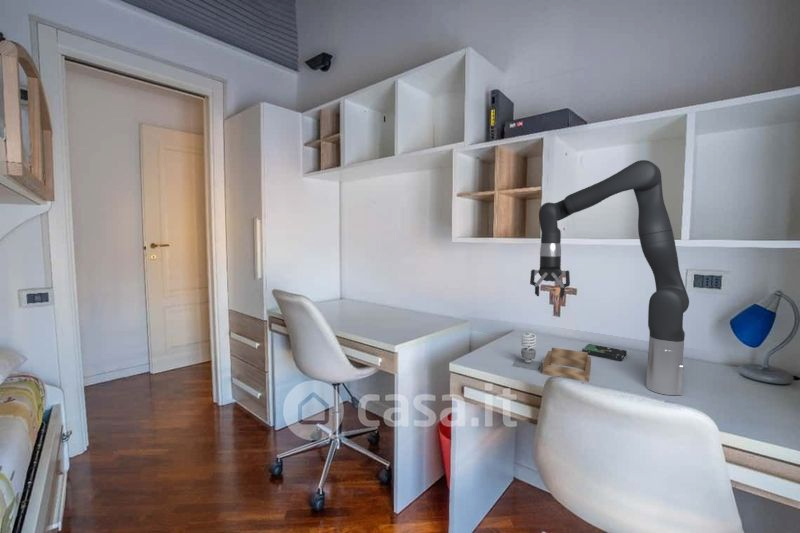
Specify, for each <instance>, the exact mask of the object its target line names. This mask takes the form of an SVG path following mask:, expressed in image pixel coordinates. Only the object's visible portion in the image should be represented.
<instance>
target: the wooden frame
mask: <svg viewBox="0 0 800 533" xmlns="http://www.w3.org/2000/svg"><path fill="white" fill-rule="evenodd" d="M591 366H592V356H589V355H588V352H582V350H581V351H580V350H572V349H566V348H565V349H564V348H558V347H551V350H548V352H547V353H546V355H545V357H544V359H543V361H542V371H541V372H542V375H545V376H546V375H547V376H552V377H557V376H561V377H560V378H563V377H566V378H565V379H569V378H570V379H569V380H576V381H581V382H587V383H589V381H590V375H591V370H592V369H591V368H592V367H591Z"/></svg>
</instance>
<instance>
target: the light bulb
mask: <svg viewBox="0 0 800 533" xmlns="http://www.w3.org/2000/svg"><path fill="white" fill-rule="evenodd" d="M520 339H521V341H520V342H521V346H523V348H521V350H520V352H521V353H520V354H521V358H522V359H525V362H527V363H530V362H532V360H534V359H535V358H536V354H537V350H536V349H534V348H536V346H537V335H536V334H535V333H532V332H529V331H528V332H527V331H526V334H521V338H520Z"/></svg>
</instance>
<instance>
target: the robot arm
mask: <svg viewBox="0 0 800 533" xmlns="http://www.w3.org/2000/svg"><path fill="white" fill-rule="evenodd" d="M662 183H663V182H662V172H661V170H660V168H659V166H657V164H655V163H654V162H652V161H650V160H646V159H641V160H637V161H634V162H633V163H631V164H629V165H627V166H626V167H625V168H623V169H621V170H620V171H617V172H616V173H614V174H612V175H611V176H609V177H607V178H604V179H603V180H601V181H599V182H597V183H595V184H594V183H593V184H592V185H589V186H587V187H585V188H583V189H580V190H578V191H576V192H573V193H570V194H568V195H566V197H564V199H562V200H560V201H559V200H558V201H557V202H546V203H543V204H542V205H541V206H540V208H539V211H538V220H539V227H540V233H541V236H540V238H541V239H540V248H539V249H540V250H539V269H531V271H530V280H529V285H531V286H533V287H534V295H536V297H540V284H541V283H542V282H543V281H544V282H555V281H556V283H557V284H558V286H560V288H559V289H560V291H559V298H561V299H562V298H563V297H564V296H565V293H566V292H565V290H566V289H565V288H568V287H570V285H571V281H570V280H571V278H570V270H562V268H561V266H562V263H561V262H562V246H561V243H562V242H561V241H562V240H561V239H562V238H561V237H562V234H561V233H562V232H561V229H559V227H558V221H562V220H564V219H565V218H568V217H569V216H572V215H573V214H575V213H579V212H581V211H584V210H586V209H589V208H591V207H594V206H595V205H597V204H599V203H602V202H603V201H605V200H606V199H608V198H610V197H612V196H614V195H617V194H619V193H623V192H627V191H631V190H633V192H634V195H635V199H636V202H637V206H638V207H637V208H638V218H637V230H638V231H637V232H638V237H639V243H640V247H641V251H642V253H643V256H644V258H645V260H646V262H647V263H648V265H649V267H650V269H651V271H652V273H653V277H654V283H655V291H654V293H652V294H651V296H650V297H649V301H648V314H647V317H648V318H647V319H648V320H647V327H648V330H649V336H648V350H647V352H648V353H647V366H646V368H647V369H646V380H645V382H646V383H645V384H646V386H645V387H646V389H648V390H649V391H652V392H655V393H657V394H662V395H667V396H683V383H684V373H685V372H684V370H685V369H684V368H685V366H684V364H683V362H684V361H683V360H684V350H685V347H684V346H685V336H686V335H685V334H686V333H685V331H684V329H683V326H684V323H683V321H684V313H686V311H687V310H688V308H689V307H690V298H689V295H688V292H687V289H686V286H685V284H684V281H683V277H682V274H681V271H680V266H679V264H680V263H679V258H678V252H677V246H676V241H675V236H674V232H673V227H672V223H671V220H670V216H669V214H668V210H667V208H666V205H665V200H664V195H663V184H662ZM537 274H539V276H540V278H539V279H538V280H537V281H536V282H535V279H536V278H535V276H536V275H537ZM562 274H563V277H565V283H564V282H563V281H562V279H561V278H560V276H561V275H562Z"/></svg>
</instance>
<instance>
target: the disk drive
mask: <svg viewBox="0 0 800 533" xmlns="http://www.w3.org/2000/svg"><path fill="white" fill-rule="evenodd" d="M581 352H588V356H590V357H597V358H602V359H607V360H611V361H616V362H622V361H623V360H624V359H625V358H626V357H627V353H628V351H627V350H625V349H621V348H620V349H619V348H615V347H607V346H603V345H597V344H592V343H588V344H587V345H585V347H583V348H582V350H581ZM625 356H626V357H625ZM624 357H625V358H624Z"/></svg>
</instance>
